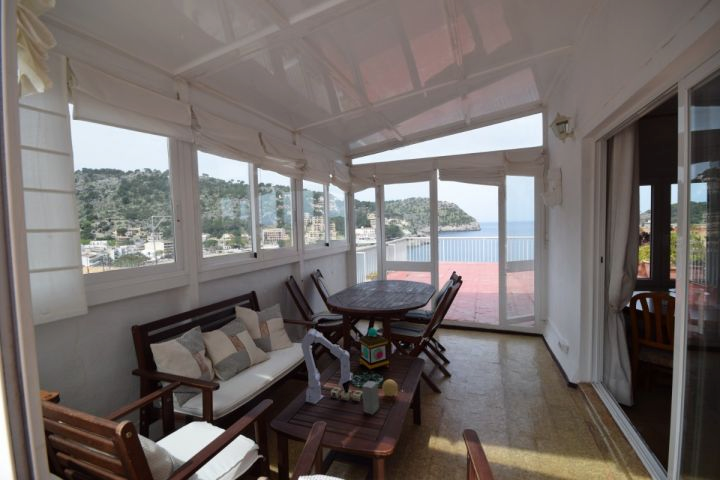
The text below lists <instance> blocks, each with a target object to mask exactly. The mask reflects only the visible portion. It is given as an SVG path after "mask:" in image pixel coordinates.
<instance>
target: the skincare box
mask: <svg viewBox="0 0 720 480" xmlns="http://www.w3.org/2000/svg"><path fill="white" fill-rule="evenodd" d="M361 389H362V391H361V392H363V398H362V400H363V401H362V403H363V412H364V413H367V414H370V415H374V414H375V413H376V412H377V411H378V410H379V408H380V404H379V403H380V402H379V401H380V400H379V385H378V381H373V380H368V381H366V382H365V383H364V384H363V385H362V387H361Z"/></svg>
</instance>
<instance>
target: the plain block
mask: <svg viewBox="0 0 720 480" xmlns="http://www.w3.org/2000/svg"><path fill="white" fill-rule="evenodd" d="M352 394H353V391H352V390H351V389H349V391H348V392H345V391H344V390H343V391H342V393H341V397H340V398H341V400H344V401H349V400H351V399H352V398H353V397H352Z"/></svg>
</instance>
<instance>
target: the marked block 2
mask: <svg viewBox="0 0 720 480" xmlns="http://www.w3.org/2000/svg"><path fill="white" fill-rule="evenodd" d="M351 398H352V400H353V401H356V402H361V401H362V400H363V391H361V390H356V389H355V391H354V392H352V397H351Z"/></svg>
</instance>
